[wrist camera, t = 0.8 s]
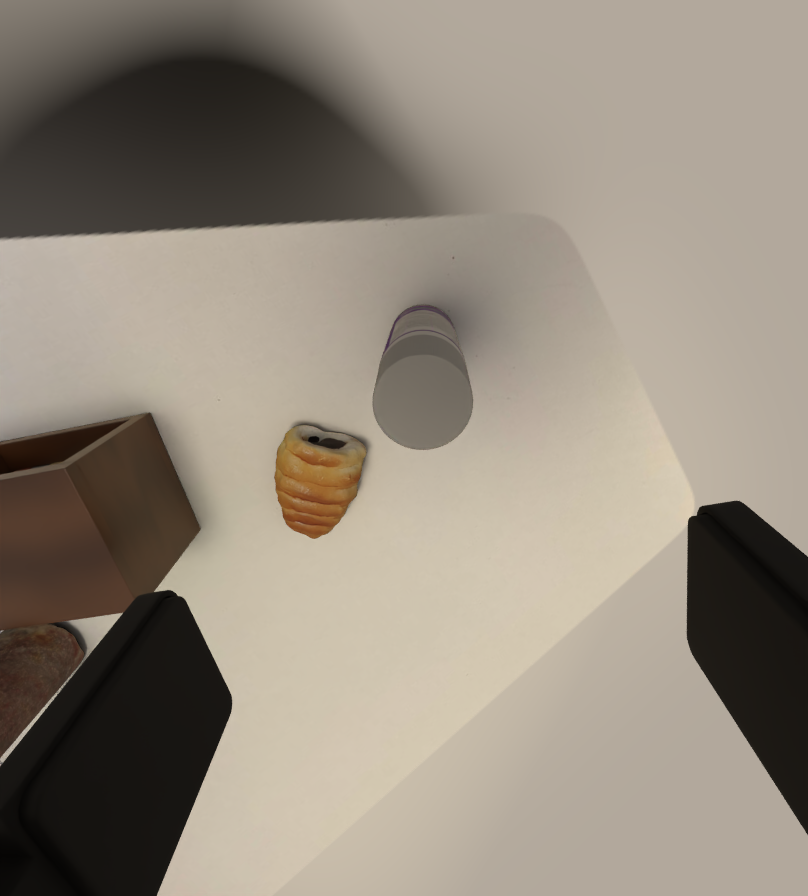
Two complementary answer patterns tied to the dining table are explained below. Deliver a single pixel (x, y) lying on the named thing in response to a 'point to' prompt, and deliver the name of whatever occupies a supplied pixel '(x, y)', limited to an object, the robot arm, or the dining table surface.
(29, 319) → the dining table surface
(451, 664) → the dining table surface
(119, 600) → the shelf
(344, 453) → the pastry
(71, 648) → the brown rounded bar
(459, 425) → the container
